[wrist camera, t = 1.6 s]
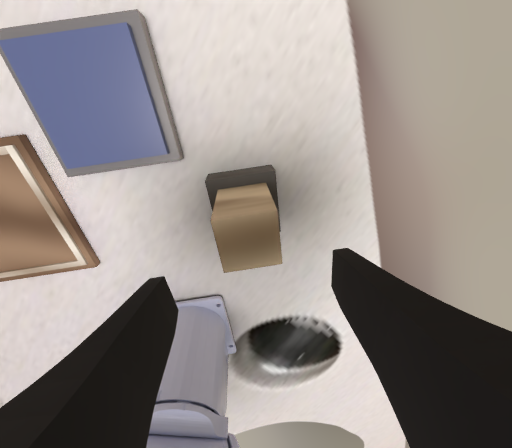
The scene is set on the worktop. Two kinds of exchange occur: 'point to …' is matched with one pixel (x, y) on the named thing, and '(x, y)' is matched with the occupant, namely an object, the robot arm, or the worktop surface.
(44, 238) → the board
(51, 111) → the ink pad
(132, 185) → the worktop surface
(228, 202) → the stamp
